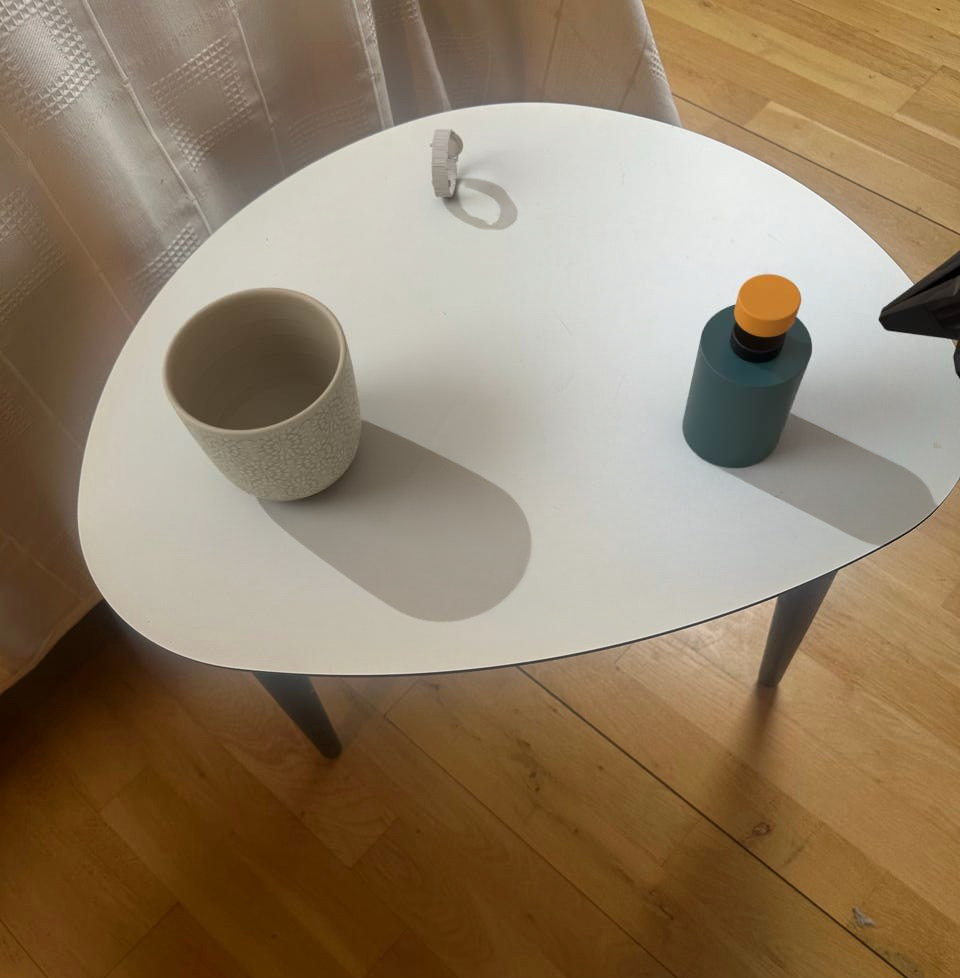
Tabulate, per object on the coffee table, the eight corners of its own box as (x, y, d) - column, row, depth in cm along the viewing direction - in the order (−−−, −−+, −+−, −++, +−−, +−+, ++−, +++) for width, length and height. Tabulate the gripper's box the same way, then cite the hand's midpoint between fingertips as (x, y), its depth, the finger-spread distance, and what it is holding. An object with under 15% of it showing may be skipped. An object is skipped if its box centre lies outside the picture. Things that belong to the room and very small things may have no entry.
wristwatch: (465, 169, 81) (460, 117, 76) (459, 209, 79) (453, 158, 74) (434, 168, 81) (427, 117, 76) (426, 208, 79) (419, 157, 74)
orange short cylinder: (804, 302, 57) (810, 284, 56) (783, 345, 56) (789, 327, 54) (746, 284, 58) (751, 266, 56) (724, 326, 57) (729, 308, 55)
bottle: (794, 408, 68) (832, 309, 58) (759, 481, 65) (794, 390, 56) (703, 377, 69) (727, 276, 60) (667, 447, 67) (685, 353, 58)
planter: (206, 413, 71) (151, 312, 61) (357, 374, 72) (326, 267, 62) (229, 542, 66) (173, 455, 56) (391, 499, 67) (363, 405, 57)
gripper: (1177, -73, 40) (855, 110, 53) (1113, 211, 34) (763, 342, 46) (1248, 126, 46) (940, 249, 58) (1205, 404, 39) (869, 474, 52)
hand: (882, 320), depth 53 cm, fingers closed
